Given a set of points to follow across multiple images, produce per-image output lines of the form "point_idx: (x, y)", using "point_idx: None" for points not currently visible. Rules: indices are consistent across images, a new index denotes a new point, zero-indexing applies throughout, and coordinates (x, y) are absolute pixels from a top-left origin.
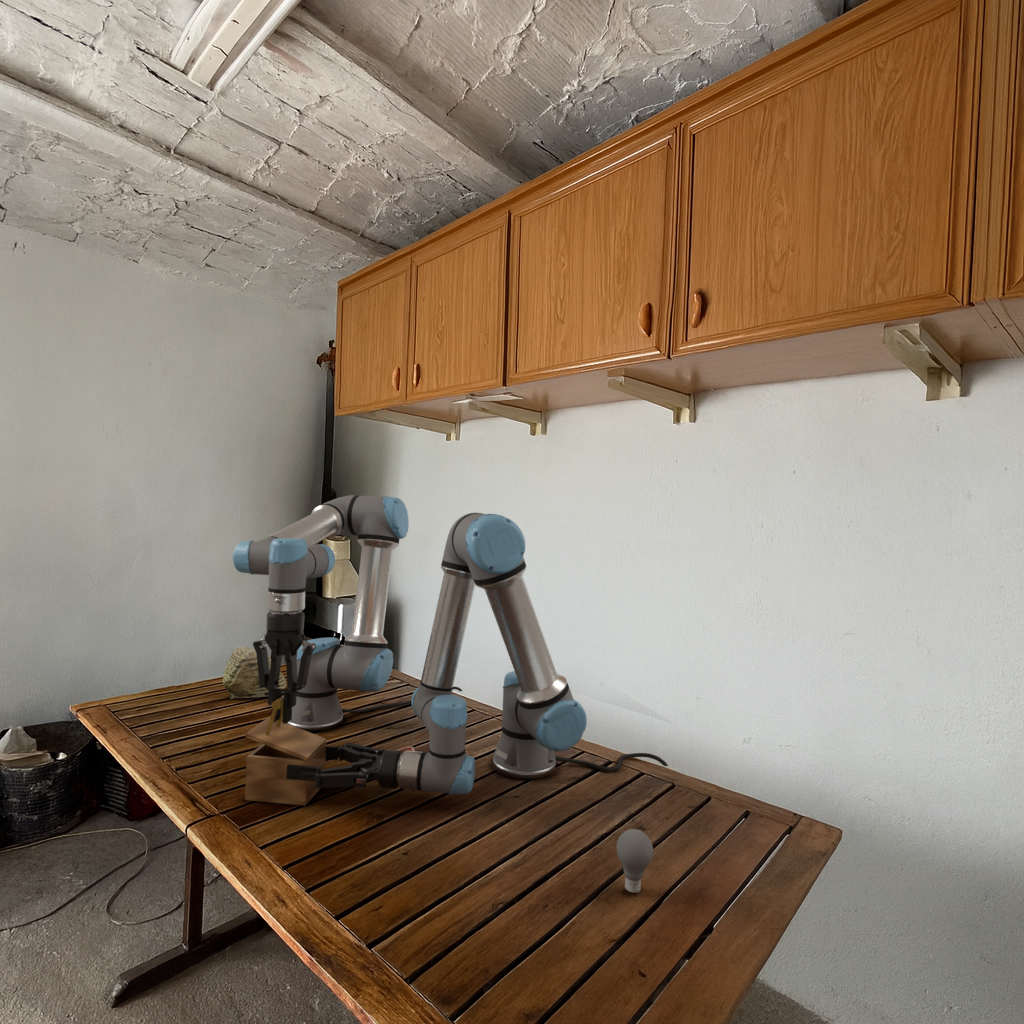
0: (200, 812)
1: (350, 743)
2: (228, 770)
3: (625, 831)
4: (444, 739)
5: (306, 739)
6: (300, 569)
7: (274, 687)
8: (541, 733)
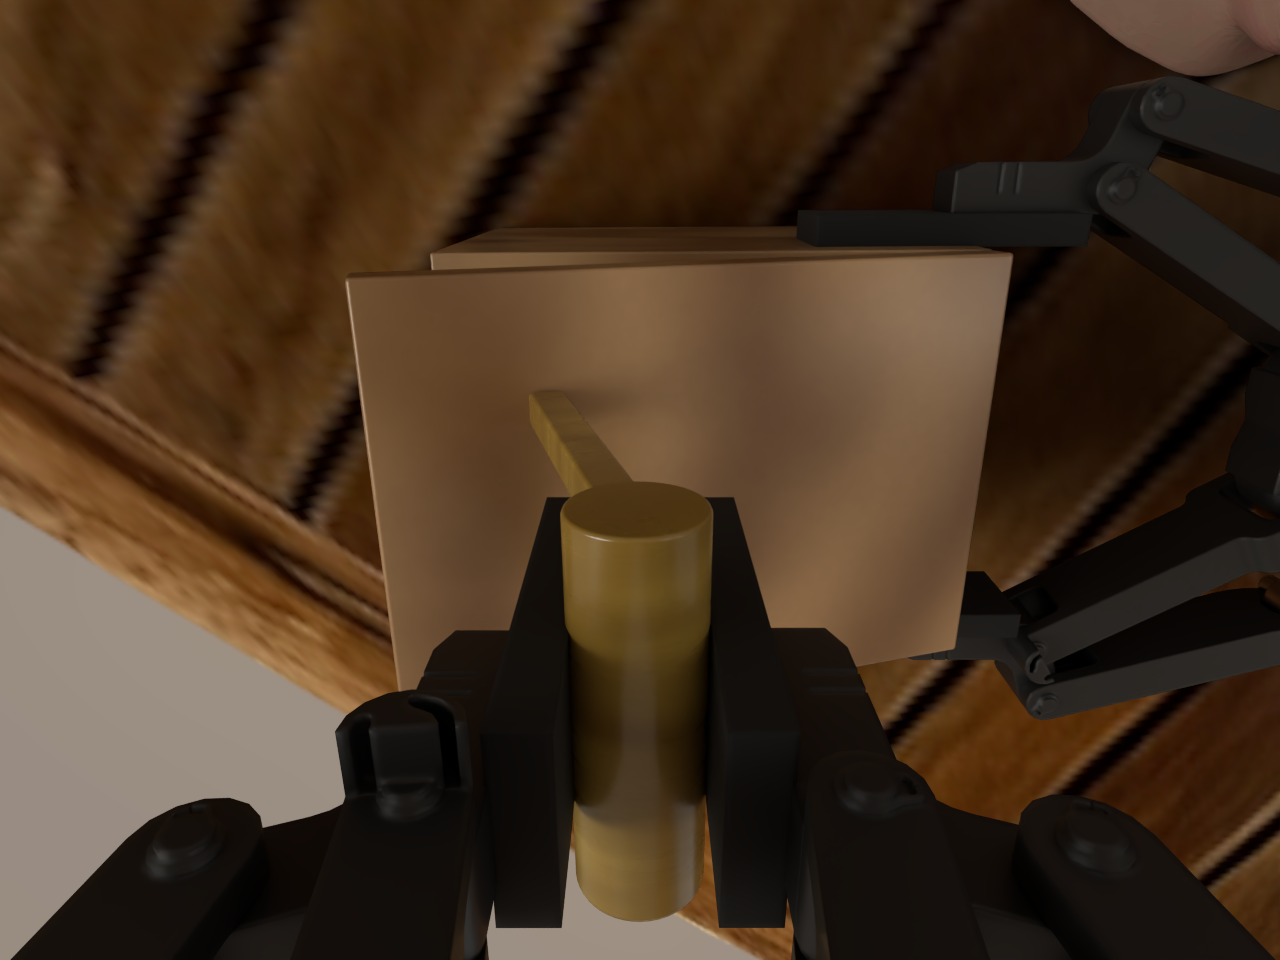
0: (380, 646)
1: (1190, 94)
2: (165, 149)
3: None
4: None
5: (866, 418)
6: None
7: (481, 920)
8: None
